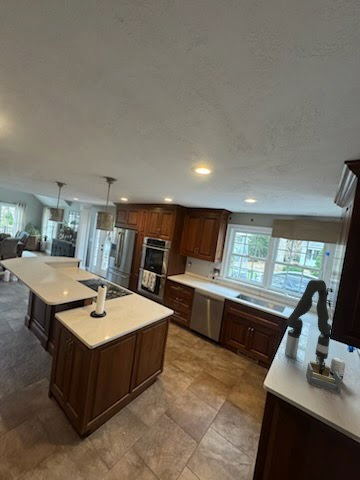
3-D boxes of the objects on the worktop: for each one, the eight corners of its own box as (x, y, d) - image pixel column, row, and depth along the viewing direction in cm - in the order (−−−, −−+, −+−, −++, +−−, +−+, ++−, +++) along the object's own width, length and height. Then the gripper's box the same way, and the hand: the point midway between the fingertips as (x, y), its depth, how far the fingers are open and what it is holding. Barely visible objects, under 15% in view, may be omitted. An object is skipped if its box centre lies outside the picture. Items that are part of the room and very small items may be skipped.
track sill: (306, 376, 155) (308, 362, 155) (334, 385, 149) (337, 371, 149) (308, 383, 147) (310, 369, 147) (339, 393, 141) (341, 379, 140)
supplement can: (327, 374, 162) (330, 355, 161) (340, 378, 159) (343, 358, 158) (330, 380, 154) (333, 360, 154) (344, 384, 151) (347, 364, 151)
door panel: (308, 372, 161) (310, 361, 161) (327, 378, 156) (328, 366, 156) (309, 374, 158) (311, 362, 158) (328, 380, 154) (330, 368, 154)
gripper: (314, 344, 165) (311, 364, 165) (318, 352, 152) (315, 375, 152) (325, 347, 162) (322, 368, 162) (331, 356, 149) (327, 379, 149)
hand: (318, 371), depth 157 cm, fingers open, 8 cm apart
